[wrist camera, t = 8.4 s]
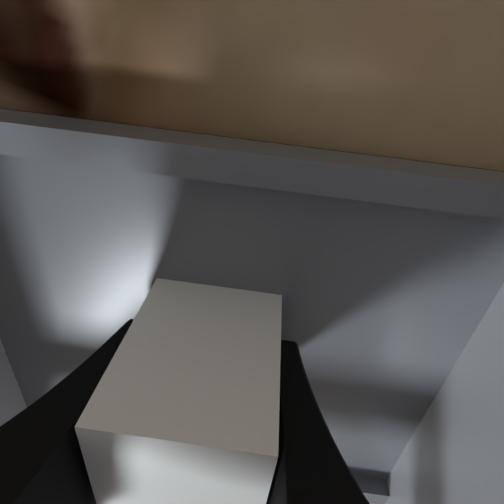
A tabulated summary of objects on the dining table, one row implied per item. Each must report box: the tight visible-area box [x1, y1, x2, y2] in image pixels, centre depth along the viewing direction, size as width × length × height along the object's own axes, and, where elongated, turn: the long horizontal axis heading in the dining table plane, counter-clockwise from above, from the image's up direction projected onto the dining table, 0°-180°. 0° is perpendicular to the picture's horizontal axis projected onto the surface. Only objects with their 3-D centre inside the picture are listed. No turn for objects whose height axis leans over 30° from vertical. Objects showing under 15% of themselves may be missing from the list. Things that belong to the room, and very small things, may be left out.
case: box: [0, 109, 504, 504], centre depth 11 cm, size 18×15×6 cm
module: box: [75, 278, 282, 504], centre depth 10 cm, size 4×4×5 cm
